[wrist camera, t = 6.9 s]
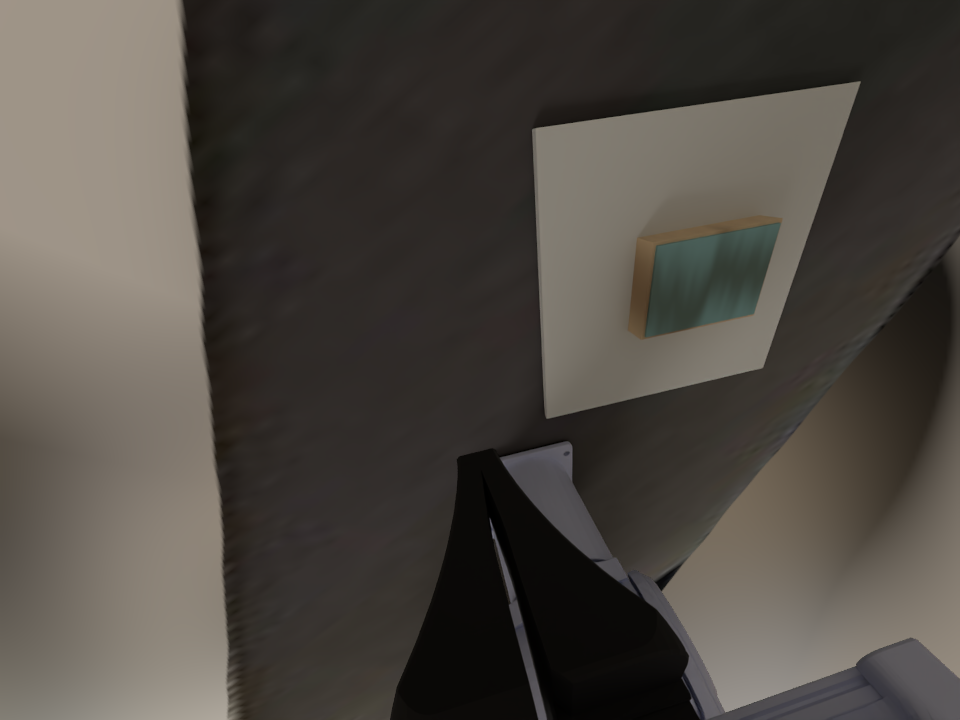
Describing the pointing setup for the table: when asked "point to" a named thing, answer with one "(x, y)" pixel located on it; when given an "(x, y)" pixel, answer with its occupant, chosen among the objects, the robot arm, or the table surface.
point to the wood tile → (700, 275)
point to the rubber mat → (664, 208)
